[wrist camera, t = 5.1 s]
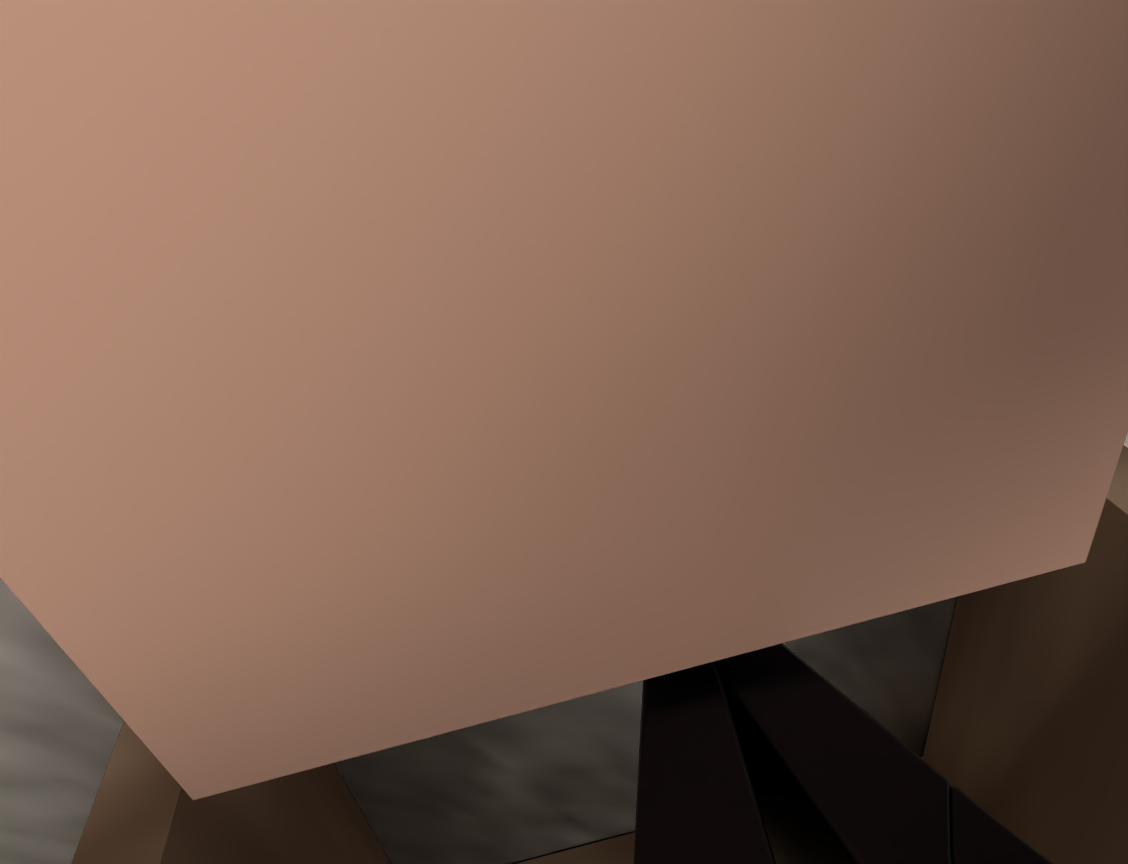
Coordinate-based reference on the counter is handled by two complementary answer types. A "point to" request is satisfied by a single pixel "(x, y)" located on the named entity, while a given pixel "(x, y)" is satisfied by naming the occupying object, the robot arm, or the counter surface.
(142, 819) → the walnut stall
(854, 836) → the robot arm
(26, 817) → the counter surface
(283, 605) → the terracotta block
